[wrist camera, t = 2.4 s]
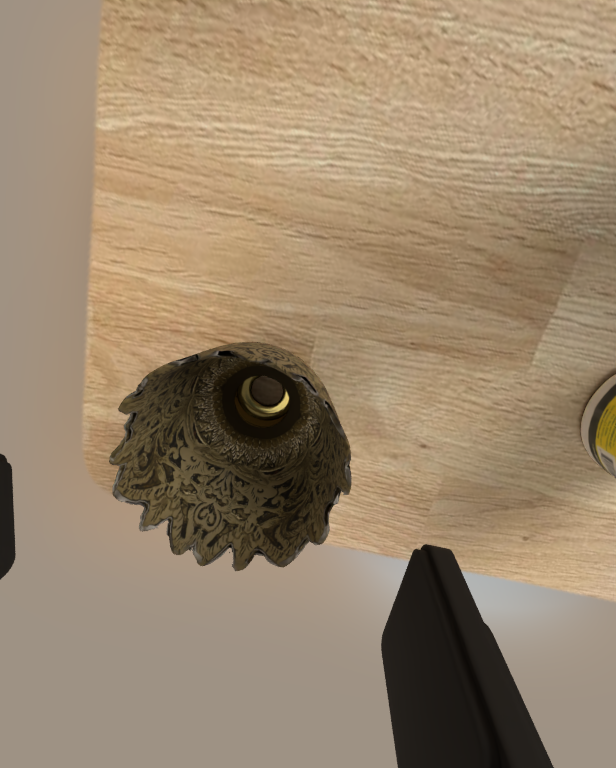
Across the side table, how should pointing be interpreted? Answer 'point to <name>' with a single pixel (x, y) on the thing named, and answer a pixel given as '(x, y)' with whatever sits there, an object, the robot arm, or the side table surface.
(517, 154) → the side table surface
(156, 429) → the ornate candle holder
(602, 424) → the pill bottle
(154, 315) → the side table surface
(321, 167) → the side table surface
